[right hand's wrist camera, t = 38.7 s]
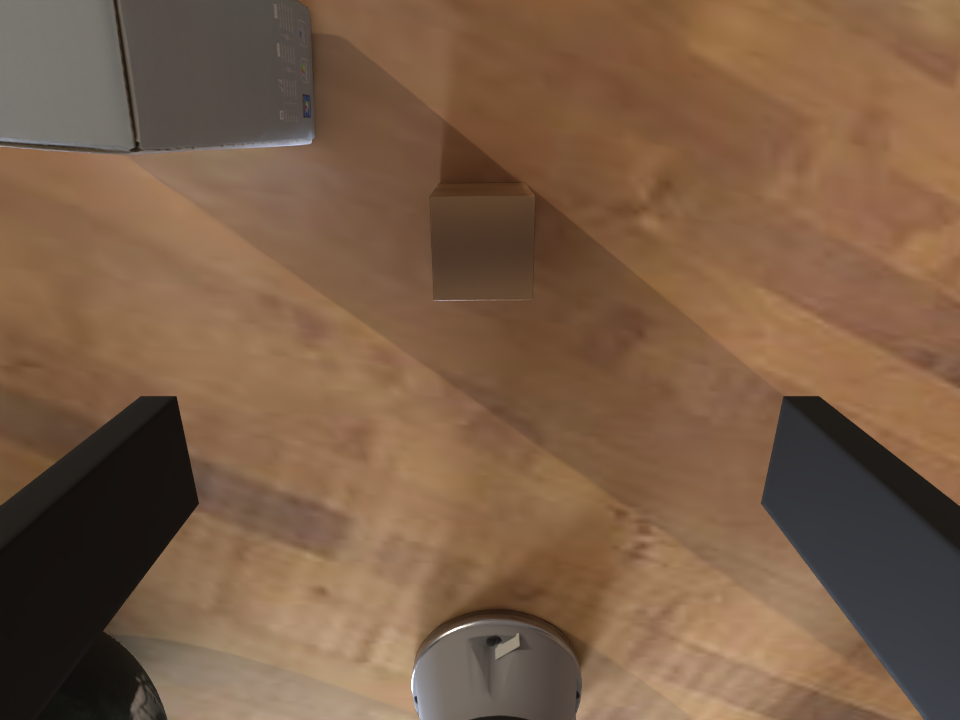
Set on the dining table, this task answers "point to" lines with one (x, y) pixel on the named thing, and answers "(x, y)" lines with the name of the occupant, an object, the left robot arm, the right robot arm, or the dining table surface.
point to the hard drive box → (155, 75)
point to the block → (482, 241)
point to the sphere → (106, 688)
